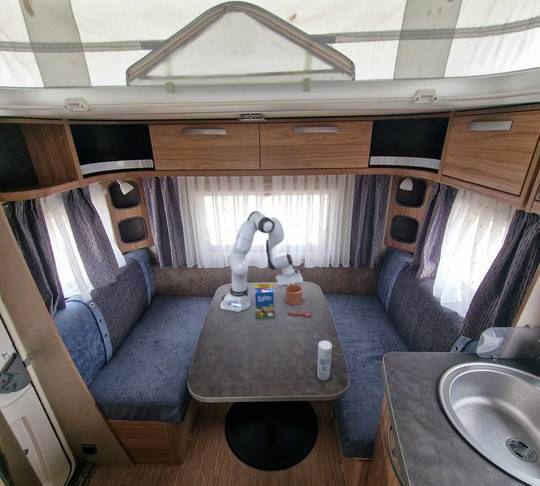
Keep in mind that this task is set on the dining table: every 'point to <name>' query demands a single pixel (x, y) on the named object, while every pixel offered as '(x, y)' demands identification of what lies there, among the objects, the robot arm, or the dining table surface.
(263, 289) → the blue food package
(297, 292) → the copper pot
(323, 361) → the spray can
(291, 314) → the red spoon
